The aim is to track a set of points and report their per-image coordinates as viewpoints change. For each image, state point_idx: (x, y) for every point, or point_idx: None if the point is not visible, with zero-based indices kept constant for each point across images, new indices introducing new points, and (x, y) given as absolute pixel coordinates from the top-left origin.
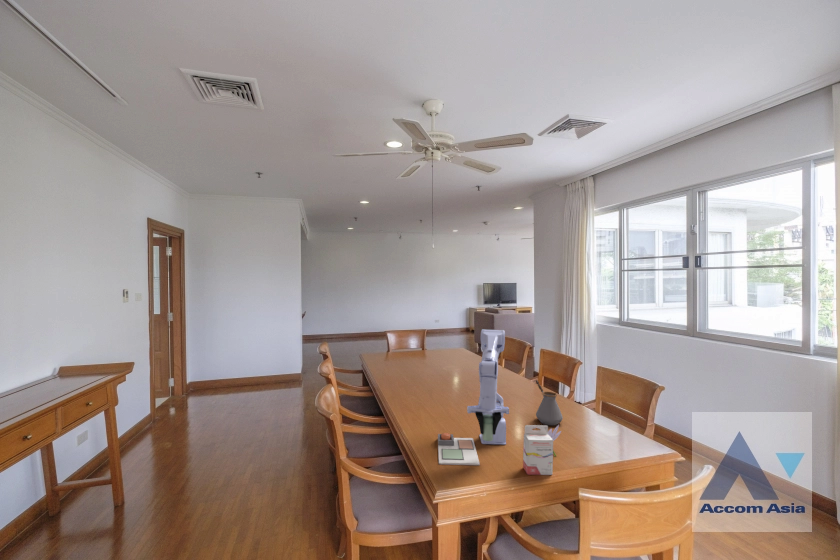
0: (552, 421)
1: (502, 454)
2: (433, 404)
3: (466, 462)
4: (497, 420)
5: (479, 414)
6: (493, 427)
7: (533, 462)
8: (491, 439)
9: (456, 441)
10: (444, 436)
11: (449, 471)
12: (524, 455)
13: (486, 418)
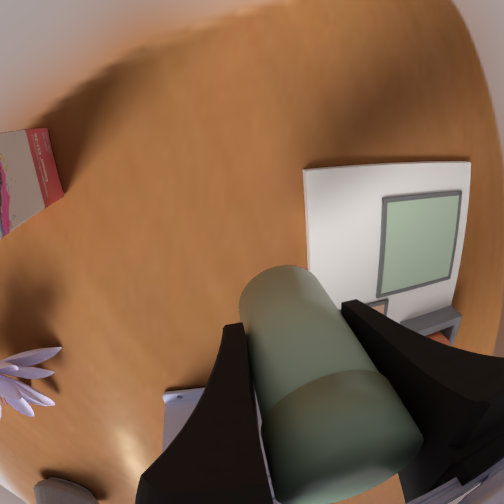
0: (50, 485)
1: (173, 311)
2: (376, 490)
3: (372, 172)
4: (206, 445)
5: (489, 436)
6: (250, 378)
7: None
8: (254, 284)
9: None
10: (445, 342)
11: (434, 100)
12: (20, 191)
13: (398, 428)
